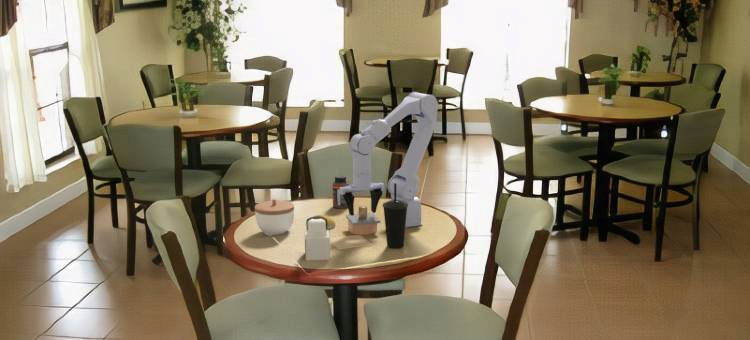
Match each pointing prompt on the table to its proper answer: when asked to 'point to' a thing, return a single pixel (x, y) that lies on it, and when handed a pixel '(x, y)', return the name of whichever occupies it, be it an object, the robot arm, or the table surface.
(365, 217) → the lid
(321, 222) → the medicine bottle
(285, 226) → the lidded bowl
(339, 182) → the supplement bottle
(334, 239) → the mat
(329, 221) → the bread roll
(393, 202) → the drinking cup
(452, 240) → the table surface
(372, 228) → the bowl
